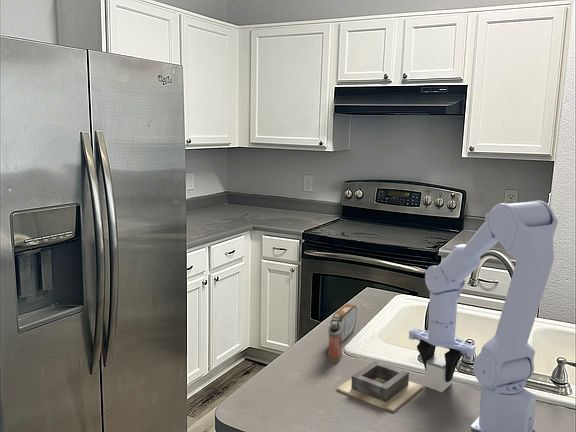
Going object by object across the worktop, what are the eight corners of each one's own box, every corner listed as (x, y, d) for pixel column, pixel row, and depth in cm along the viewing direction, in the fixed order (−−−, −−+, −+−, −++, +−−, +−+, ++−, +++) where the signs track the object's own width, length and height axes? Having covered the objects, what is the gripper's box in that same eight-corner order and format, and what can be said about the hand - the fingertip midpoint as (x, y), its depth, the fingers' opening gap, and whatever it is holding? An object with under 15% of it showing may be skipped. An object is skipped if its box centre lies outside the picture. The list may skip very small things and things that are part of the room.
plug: (451, 383, 120) (453, 358, 119) (442, 392, 116) (443, 366, 115) (435, 378, 123) (436, 353, 122) (425, 386, 119) (426, 361, 118)
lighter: (340, 363, 130) (340, 324, 128) (326, 362, 130) (326, 323, 128) (343, 349, 137) (344, 312, 135) (330, 348, 138) (331, 311, 136)
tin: (347, 326, 152) (348, 298, 150) (358, 328, 151) (359, 300, 149) (327, 347, 139) (327, 316, 137) (338, 349, 138) (339, 318, 136)
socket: (423, 388, 118) (423, 373, 117) (393, 412, 108) (394, 396, 108) (368, 368, 127) (368, 354, 126) (336, 389, 117) (336, 375, 117)
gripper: (482, 321, 115) (478, 380, 118) (420, 306, 124) (417, 361, 127) (469, 331, 110) (465, 393, 112) (405, 314, 119) (402, 371, 121)
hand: (439, 376), depth 119 cm, fingers closed on plug, 4 cm apart
